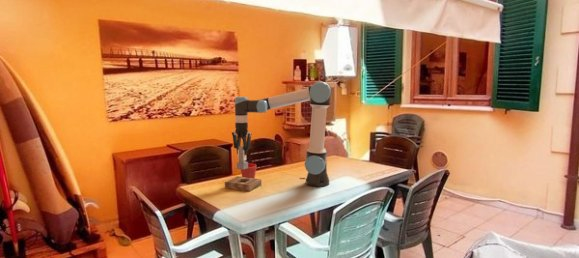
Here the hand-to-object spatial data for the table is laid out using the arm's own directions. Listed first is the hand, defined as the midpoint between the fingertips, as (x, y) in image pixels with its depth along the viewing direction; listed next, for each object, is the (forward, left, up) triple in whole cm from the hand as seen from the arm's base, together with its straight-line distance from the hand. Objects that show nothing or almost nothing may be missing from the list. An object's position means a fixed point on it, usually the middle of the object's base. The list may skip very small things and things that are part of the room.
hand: (242, 159), depth 214 cm
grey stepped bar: (0, 0, -6) cm, 6 cm away
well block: (0, 0, -17) cm, 17 cm away
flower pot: (+6, -16, -17) cm, 24 cm away
